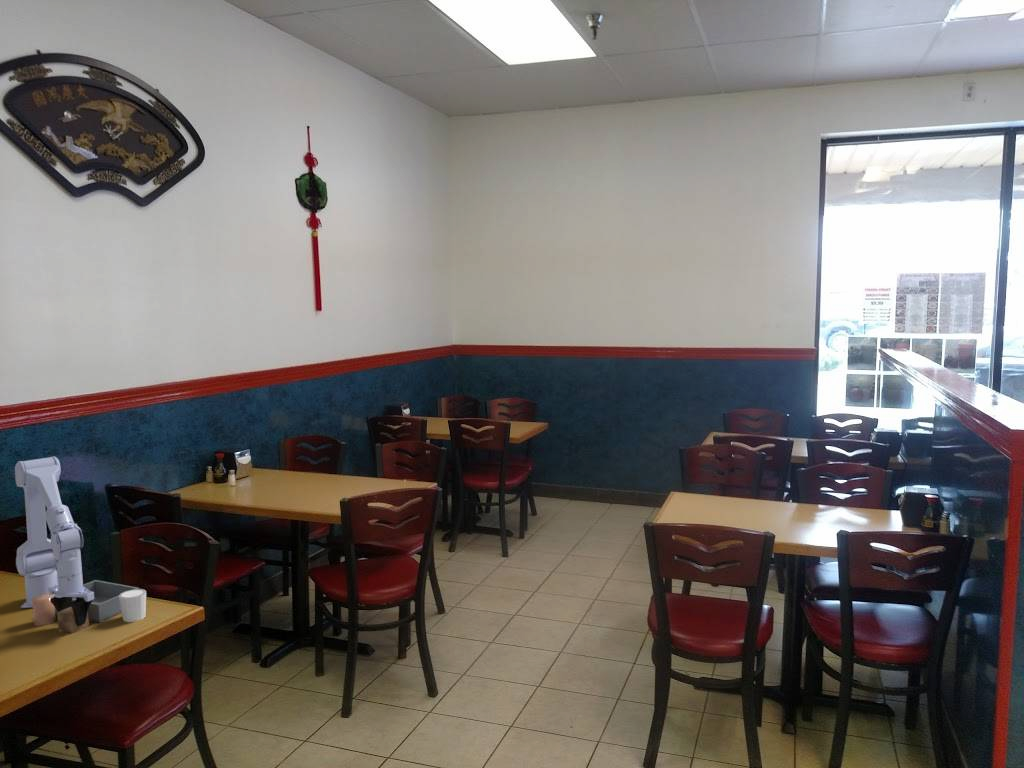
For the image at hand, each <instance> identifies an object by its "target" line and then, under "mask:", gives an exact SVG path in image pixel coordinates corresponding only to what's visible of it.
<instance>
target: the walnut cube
mask: <svg viewBox="0 0 1024 768" xmlns="http://www.w3.org/2000/svg"><path fill="white" fill-rule="evenodd" d="M56 615H57V624H58V625H57V626H58V631H59V632H63V633H64V632H65V633H68V632H69V634H74V633H76V632H78V630H79V631H80V629H81V630H83V629H85V628H87V627H90V621H89V619H88V612H87V617H86V622H85V624H83V625H80V626H77V625H76V622H75V616H74V612H73V609H72V607H69V608H67V609H64V610H62V611H59V612H57V614H56ZM86 626H87V627H86ZM84 627H85V628H84ZM82 628H83V629H82Z"/></svg>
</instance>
